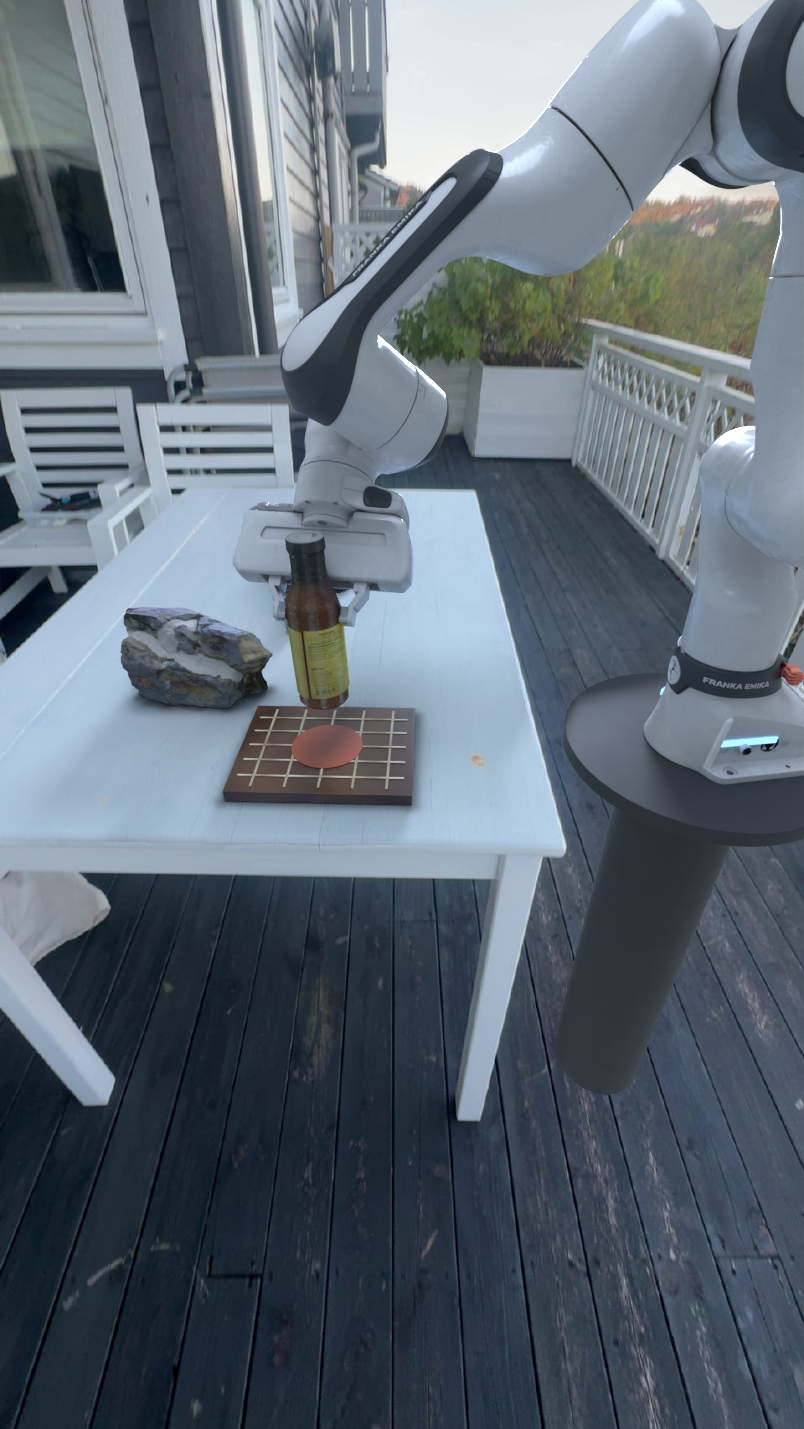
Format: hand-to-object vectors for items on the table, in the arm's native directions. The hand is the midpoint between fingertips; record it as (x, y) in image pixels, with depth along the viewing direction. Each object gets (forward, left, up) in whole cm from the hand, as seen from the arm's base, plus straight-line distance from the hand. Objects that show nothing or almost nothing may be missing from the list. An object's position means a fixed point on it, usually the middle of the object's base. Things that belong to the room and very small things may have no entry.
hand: (313, 622), depth 69 cm
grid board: (0, -1, -19) cm, 19 cm away
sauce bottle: (0, -1, -11) cm, 11 cm away
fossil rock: (+20, -14, -19) cm, 31 cm away
